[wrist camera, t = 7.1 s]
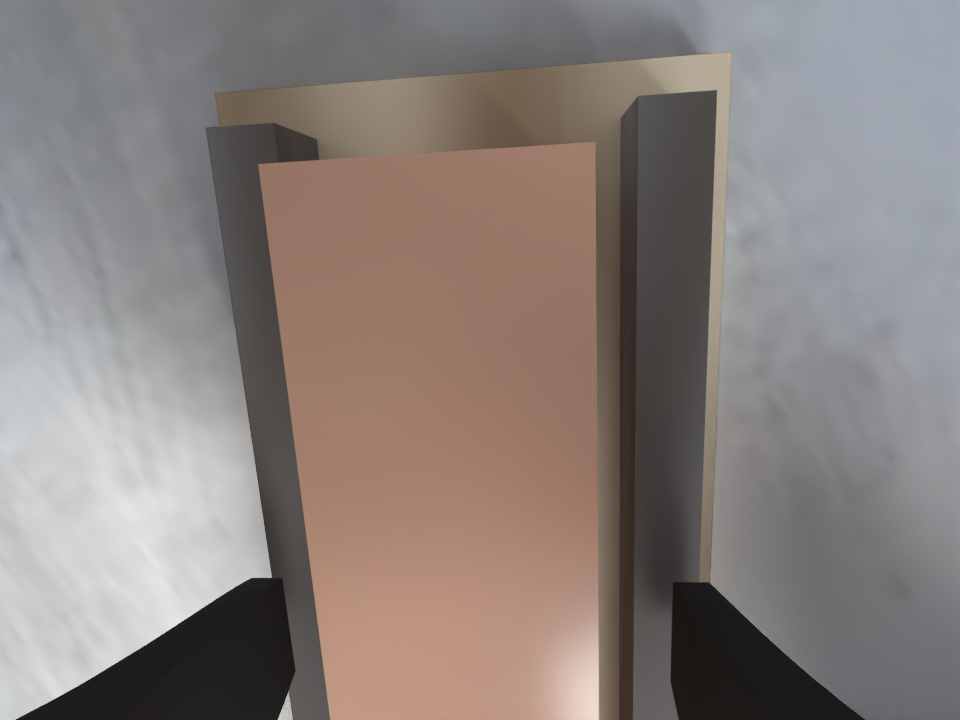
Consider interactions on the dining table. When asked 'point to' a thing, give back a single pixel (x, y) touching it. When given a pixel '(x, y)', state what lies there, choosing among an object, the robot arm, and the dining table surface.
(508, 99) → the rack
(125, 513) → the dining table surface
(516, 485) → the clay block
